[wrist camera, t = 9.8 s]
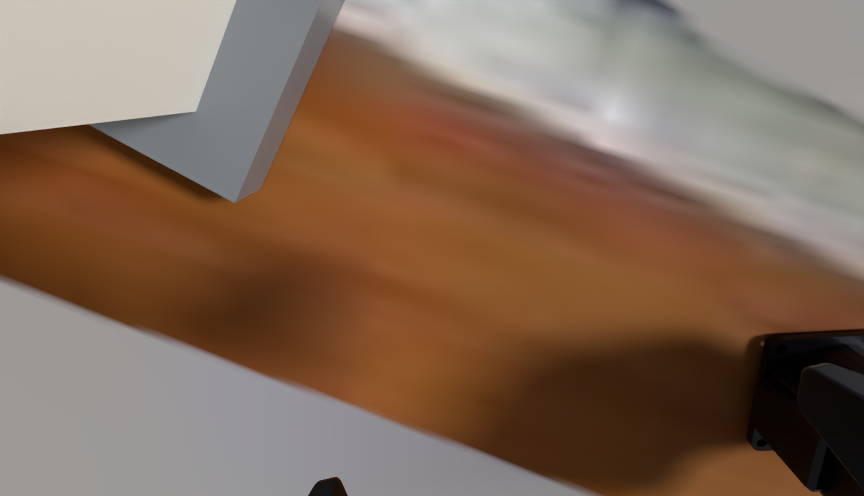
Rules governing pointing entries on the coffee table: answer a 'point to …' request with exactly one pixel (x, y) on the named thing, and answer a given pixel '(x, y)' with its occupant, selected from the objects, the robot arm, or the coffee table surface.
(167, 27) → the post
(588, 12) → the coffee table surface
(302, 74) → the plinth
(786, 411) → the robot arm
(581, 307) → the coffee table surface
